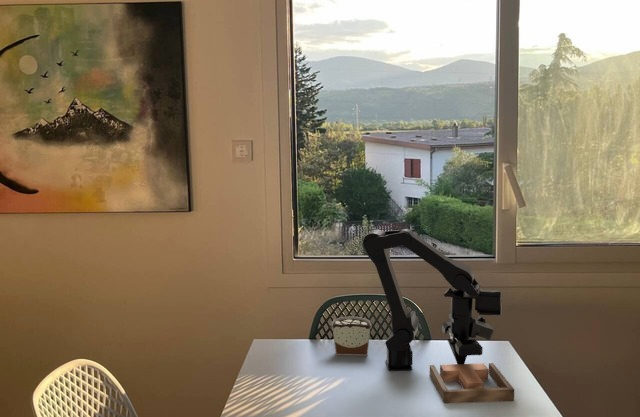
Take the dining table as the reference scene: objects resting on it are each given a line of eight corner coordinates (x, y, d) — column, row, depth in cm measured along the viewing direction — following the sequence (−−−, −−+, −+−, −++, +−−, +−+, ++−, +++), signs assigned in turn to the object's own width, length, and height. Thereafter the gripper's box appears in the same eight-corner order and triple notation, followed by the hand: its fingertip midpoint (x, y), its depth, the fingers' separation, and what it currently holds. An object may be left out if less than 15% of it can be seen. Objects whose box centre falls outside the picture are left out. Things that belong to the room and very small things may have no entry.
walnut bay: (444, 403, 150) (444, 391, 150) (429, 375, 166) (429, 365, 166) (514, 400, 151) (514, 389, 151) (492, 373, 167) (493, 363, 167)
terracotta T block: (451, 395, 155) (451, 383, 154) (440, 375, 166) (440, 364, 166) (498, 393, 155) (498, 382, 155) (483, 373, 167) (483, 363, 167)
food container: (372, 347, 187) (372, 316, 185) (372, 355, 181) (372, 323, 179) (332, 346, 188) (332, 315, 186) (330, 354, 182) (330, 322, 180)
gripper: (503, 323, 156) (501, 381, 159) (480, 301, 175) (479, 353, 177) (459, 324, 156) (458, 382, 158) (441, 302, 174) (441, 354, 177)
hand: (460, 367), depth 167 cm, fingers closed
